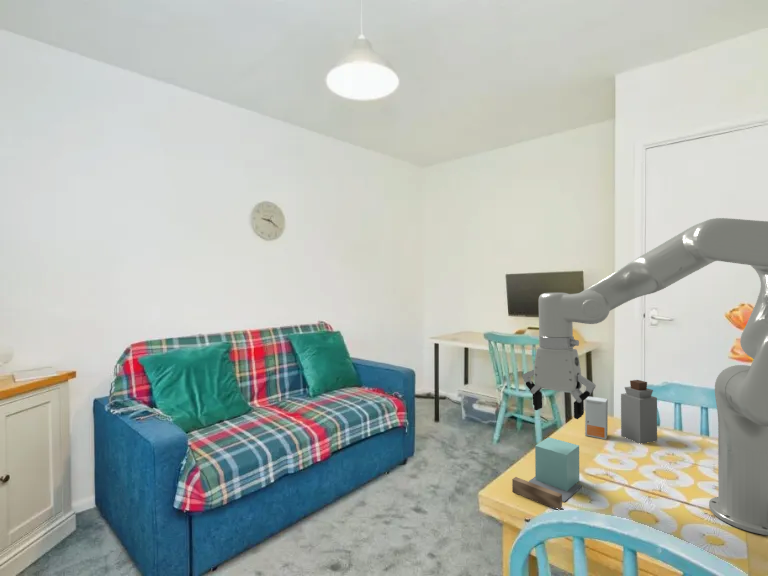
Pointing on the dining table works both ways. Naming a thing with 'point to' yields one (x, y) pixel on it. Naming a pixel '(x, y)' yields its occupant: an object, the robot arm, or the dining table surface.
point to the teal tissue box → (557, 463)
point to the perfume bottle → (639, 413)
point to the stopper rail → (537, 493)
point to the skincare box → (596, 417)
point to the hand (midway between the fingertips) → (557, 413)
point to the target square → (564, 493)
